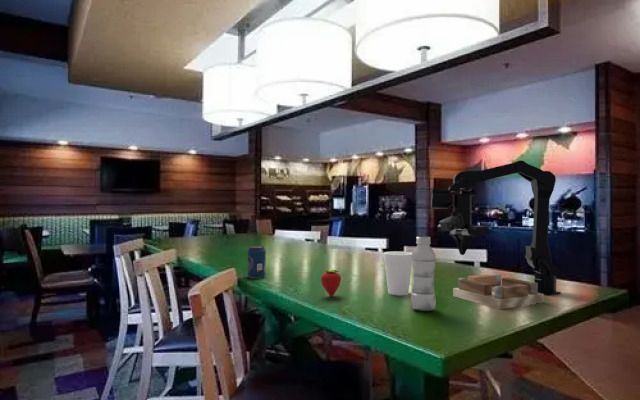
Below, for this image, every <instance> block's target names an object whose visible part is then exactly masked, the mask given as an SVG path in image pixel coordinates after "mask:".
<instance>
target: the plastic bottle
mask: <svg viewBox="0 0 640 400" xmlns="http://www.w3.org/2000/svg"><path fill="white" fill-rule="evenodd" d="M415 240H416V242H415V243H416V247H415V248H414V249H413V251H412V252H411V253H412V256H411V257H412V275H413V276H412V277H413V278H412V281H413V282H412V292H411V294H410V303H411V307H412V308H413V309H414V310H416V311H420V312H426V311H427V312H429V311H433V310H434V309H435V308H436V303H437V302H436V301H437V299H436V294H435V285H434V284H435V283H434V279H435V277H434V276H435V266H436V259H437V257H436V256H437V255H436V253H435V251H434V250H433V248H432V247H431V246H430V245H431V243H432V242H431V237H430V236H416V239H415Z"/></svg>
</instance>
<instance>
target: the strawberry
mask: <svg viewBox="0 0 640 400" xmlns="http://www.w3.org/2000/svg"><path fill="white" fill-rule="evenodd" d="M328 264H329V266H330V267H331V269H324V273H323V274H322V275H321V279H320V280H321V284H322V287H323V288H324V290H325V292H327V294H328V295H329V297H333V296H334V295H335V294H336V292H337V290H338V288H339V287H340V284H341V280H342V277H341V274H340V272H339V270H337V269H333V267H332V265H330V263H328Z"/></svg>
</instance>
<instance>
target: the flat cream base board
mask: <svg viewBox="0 0 640 400" xmlns="http://www.w3.org/2000/svg"><path fill="white" fill-rule="evenodd" d="M452 292H453V293H452V295H453V297H454V298H455V297H456V298H459V299H461V300H465V301H469V302H473V303H477V304H480V305H484V306H487V307H490V308H495V309H497V310H503V309H505V310H506V309H510V308H511V309H512V308H517V306H518V307H523V306H522V305H525V306H531V305H530V304H532V305H537V304H536V303H539V304H544V303H545V297H544V296H545V294H540V293H538V283H536V282H534V281H528V280H522V279H517V278H512V277H501V285H492V284H487V283H483V282H478V281H474V280H469V279H468V278H465V277H458V287H454V288H452ZM543 302H544V303H543Z"/></svg>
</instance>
